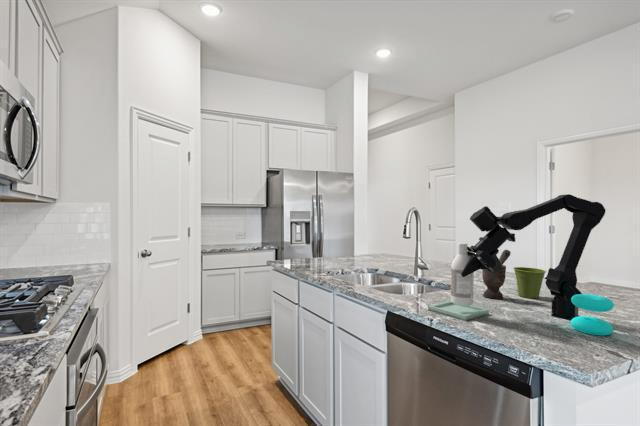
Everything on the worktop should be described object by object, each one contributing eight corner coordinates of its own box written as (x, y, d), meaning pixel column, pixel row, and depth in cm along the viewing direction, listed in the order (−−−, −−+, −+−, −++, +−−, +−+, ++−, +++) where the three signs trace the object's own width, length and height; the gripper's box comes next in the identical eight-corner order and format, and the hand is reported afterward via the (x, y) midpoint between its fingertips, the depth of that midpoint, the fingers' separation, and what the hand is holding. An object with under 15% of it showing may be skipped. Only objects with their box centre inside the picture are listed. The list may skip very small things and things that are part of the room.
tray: (488, 313, 121) (488, 309, 121) (465, 320, 112) (465, 316, 112) (451, 304, 132) (451, 300, 132) (428, 310, 123) (428, 305, 123)
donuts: (614, 303, 98) (569, 297, 104) (613, 339, 98) (568, 331, 104) (614, 297, 106) (572, 291, 112) (613, 330, 106) (572, 323, 112)
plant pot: (516, 298, 143) (516, 270, 143) (509, 292, 154) (510, 266, 154) (549, 301, 140) (550, 272, 140) (540, 294, 151) (541, 268, 151)
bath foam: (455, 299, 125) (456, 242, 124) (476, 303, 120) (477, 243, 120) (447, 303, 119) (448, 243, 119) (468, 307, 115) (469, 244, 115)
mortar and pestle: (517, 299, 141) (518, 249, 141) (506, 302, 136) (507, 250, 136) (488, 293, 151) (489, 246, 151) (477, 296, 145) (478, 247, 145)
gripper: (524, 263, 110) (487, 298, 110) (495, 255, 129) (464, 285, 129) (498, 237, 110) (462, 272, 110) (473, 233, 129) (442, 263, 129)
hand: (458, 274), depth 120 cm, fingers closed on bath foam, 7 cm apart
